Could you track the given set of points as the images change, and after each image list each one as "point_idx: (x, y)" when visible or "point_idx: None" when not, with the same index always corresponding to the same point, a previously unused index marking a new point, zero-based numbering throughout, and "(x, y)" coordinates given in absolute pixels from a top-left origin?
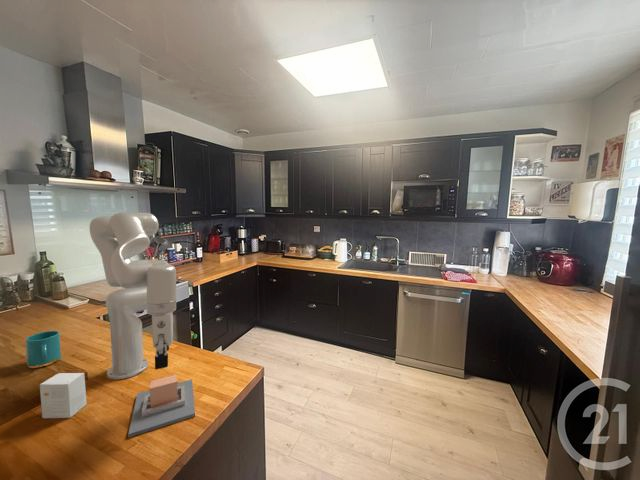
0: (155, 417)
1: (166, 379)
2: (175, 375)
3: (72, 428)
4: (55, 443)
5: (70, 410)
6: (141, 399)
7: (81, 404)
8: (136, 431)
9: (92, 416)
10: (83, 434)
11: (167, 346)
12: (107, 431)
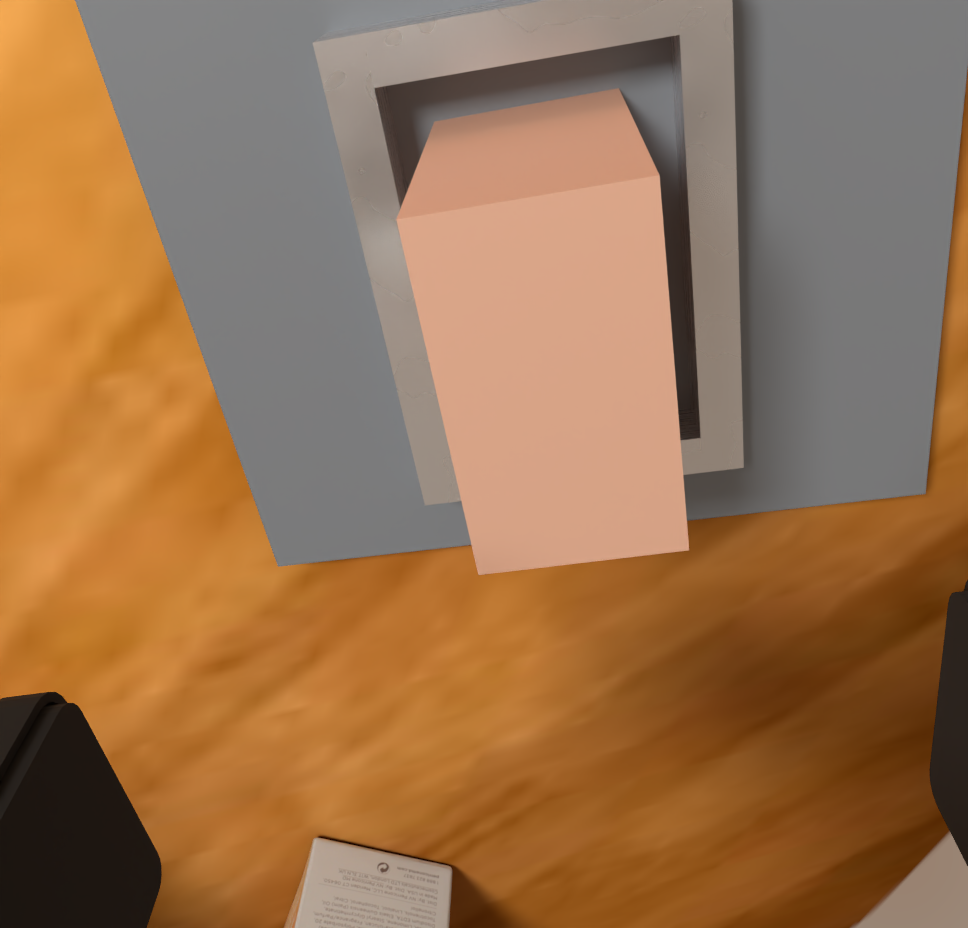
0: (797, 306)
1: (511, 373)
2: (421, 241)
3: (578, 823)
4: (696, 851)
5: (445, 918)
6: (400, 508)
7: (356, 876)
8: (929, 436)
9: (482, 765)
10: (681, 754)
11: (19, 825)
12: (727, 633)
